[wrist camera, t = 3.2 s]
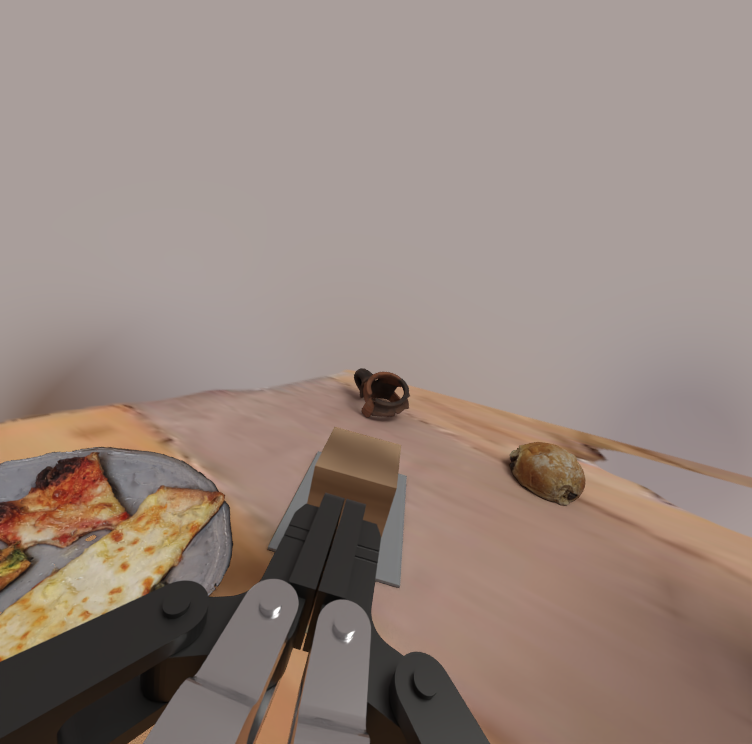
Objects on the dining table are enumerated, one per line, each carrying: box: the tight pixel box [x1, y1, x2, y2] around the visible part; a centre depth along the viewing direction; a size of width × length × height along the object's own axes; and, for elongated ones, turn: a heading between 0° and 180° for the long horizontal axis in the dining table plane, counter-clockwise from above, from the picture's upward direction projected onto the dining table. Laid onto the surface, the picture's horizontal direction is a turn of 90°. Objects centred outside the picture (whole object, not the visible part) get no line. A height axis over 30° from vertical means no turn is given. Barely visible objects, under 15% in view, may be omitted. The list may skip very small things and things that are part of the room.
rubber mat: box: [268, 451, 407, 588], centre depth 38 cm, size 16×12×1 cm
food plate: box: [0, 447, 233, 662], centre depth 24 cm, size 25×23×4 cm
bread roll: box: [510, 442, 585, 505], centre depth 52 cm, size 10×10×8 cm
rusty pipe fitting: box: [354, 369, 410, 418], centre depth 62 cm, size 12×10×8 cm
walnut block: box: [306, 427, 401, 633], centre depth 25 cm, size 5×5×14 cm
